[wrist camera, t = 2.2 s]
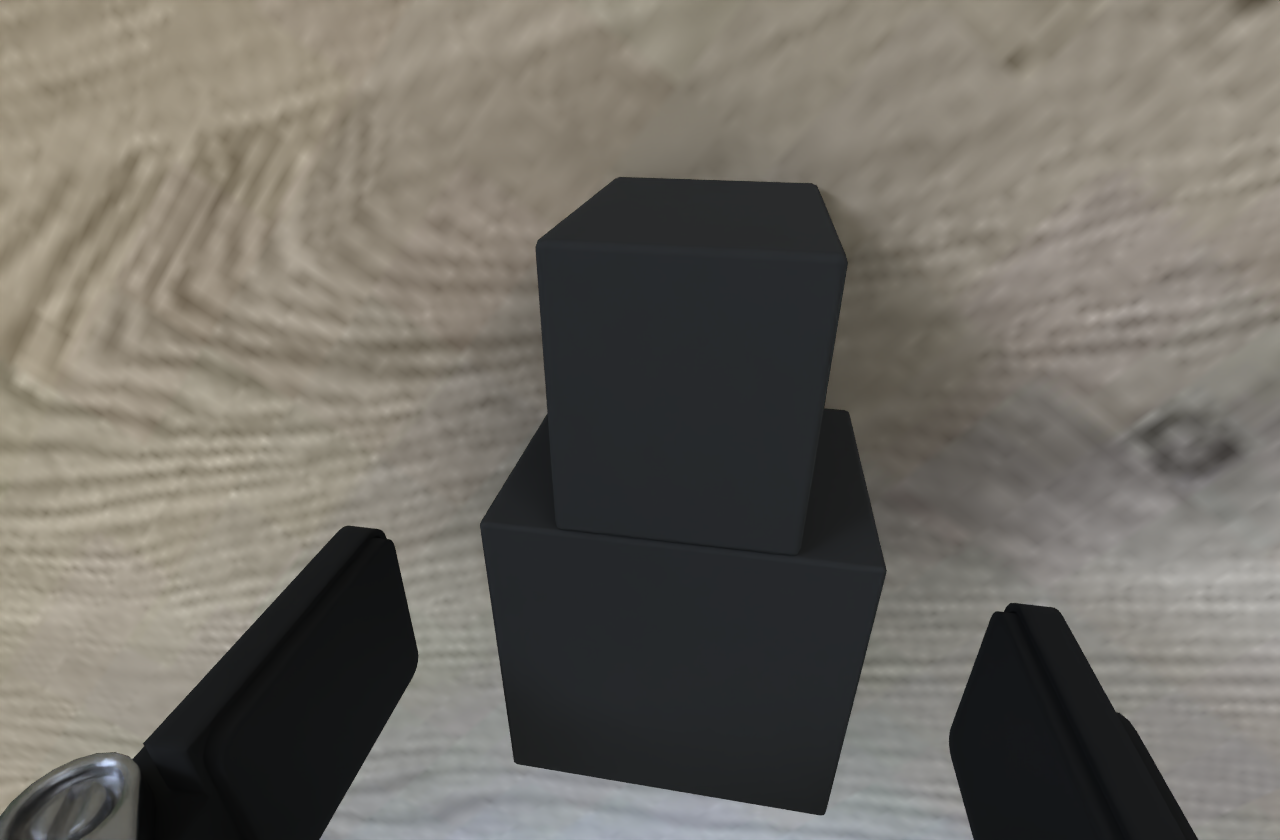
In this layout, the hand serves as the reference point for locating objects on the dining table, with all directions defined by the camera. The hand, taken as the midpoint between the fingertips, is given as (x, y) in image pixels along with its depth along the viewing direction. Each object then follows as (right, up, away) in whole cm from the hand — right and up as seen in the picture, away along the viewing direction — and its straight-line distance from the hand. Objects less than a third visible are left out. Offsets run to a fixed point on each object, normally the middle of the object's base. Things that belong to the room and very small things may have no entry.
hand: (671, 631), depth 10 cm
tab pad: (+1, +3, +1) cm, 3 cm away
